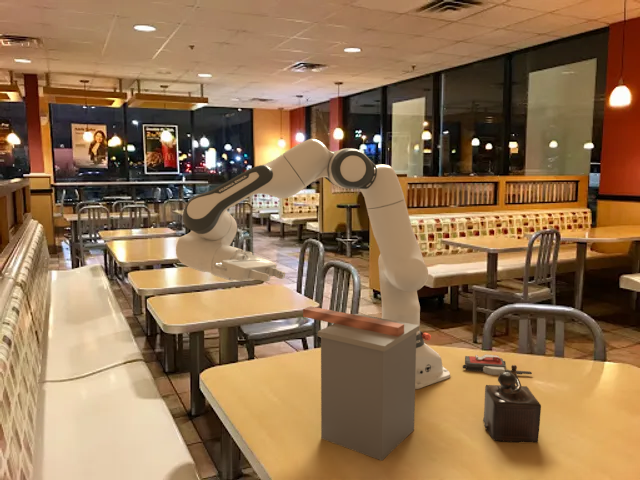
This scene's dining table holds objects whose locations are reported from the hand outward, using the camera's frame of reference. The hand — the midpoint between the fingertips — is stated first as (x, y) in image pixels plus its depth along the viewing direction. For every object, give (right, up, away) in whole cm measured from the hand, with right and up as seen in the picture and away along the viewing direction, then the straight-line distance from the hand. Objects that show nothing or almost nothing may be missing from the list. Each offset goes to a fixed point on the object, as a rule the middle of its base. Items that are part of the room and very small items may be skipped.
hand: (276, 277), depth 135 cm
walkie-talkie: (+66, -31, +27) cm, 78 cm away
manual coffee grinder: (+56, -37, -12) cm, 68 cm away
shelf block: (+23, -36, -11) cm, 44 cm away
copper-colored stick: (+18, -10, -12) cm, 24 cm away
